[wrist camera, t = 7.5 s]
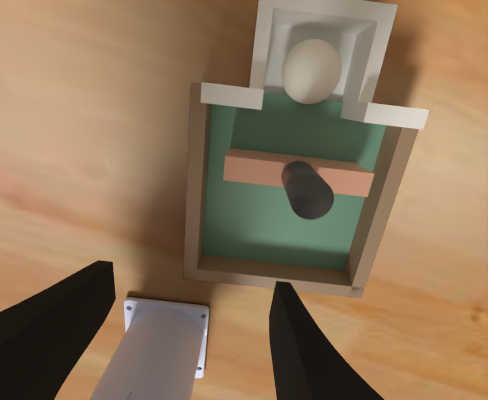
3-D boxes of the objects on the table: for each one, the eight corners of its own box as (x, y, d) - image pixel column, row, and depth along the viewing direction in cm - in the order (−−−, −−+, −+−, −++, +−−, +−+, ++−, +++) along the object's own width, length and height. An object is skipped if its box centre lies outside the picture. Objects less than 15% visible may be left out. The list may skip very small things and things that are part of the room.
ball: (331, 64, 18) (326, 115, 17) (280, 57, 18) (274, 109, 17) (355, 28, 14) (348, 92, 14) (290, 20, 14) (283, 84, 14)
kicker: (349, 186, 19) (400, 230, 13) (227, 171, 19) (213, 208, 12) (356, 159, 18) (415, 191, 12) (229, 144, 18) (217, 167, 12)
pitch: (347, 274, 23) (372, 318, 19) (191, 257, 23) (176, 296, 18) (422, 30, 17) (489, 3, 12) (204, 2, 16) (185, -37, 12)
